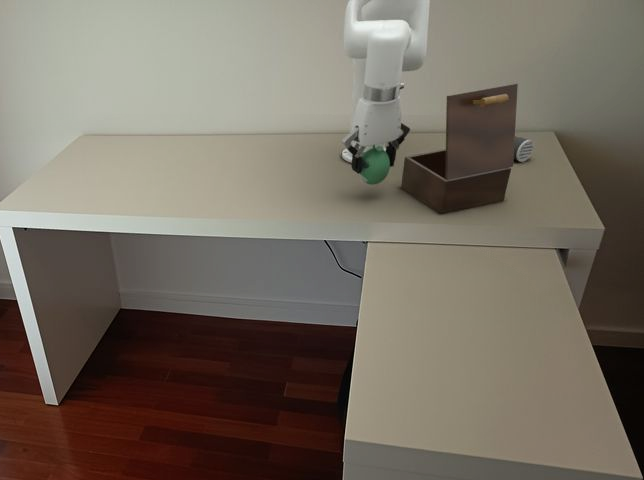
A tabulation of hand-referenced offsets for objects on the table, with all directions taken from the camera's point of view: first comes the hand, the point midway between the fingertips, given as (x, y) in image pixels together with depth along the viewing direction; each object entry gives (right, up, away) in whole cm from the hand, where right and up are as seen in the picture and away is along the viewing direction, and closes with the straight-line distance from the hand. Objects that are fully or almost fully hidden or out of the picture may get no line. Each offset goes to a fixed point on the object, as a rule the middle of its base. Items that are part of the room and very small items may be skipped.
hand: (372, 167), depth 152 cm
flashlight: (+40, +9, +19) cm, 45 cm away
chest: (+19, -6, +2) cm, 20 cm away
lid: (+20, +4, -12) cm, 23 cm away
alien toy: (0, -3, +3) cm, 4 cm away
